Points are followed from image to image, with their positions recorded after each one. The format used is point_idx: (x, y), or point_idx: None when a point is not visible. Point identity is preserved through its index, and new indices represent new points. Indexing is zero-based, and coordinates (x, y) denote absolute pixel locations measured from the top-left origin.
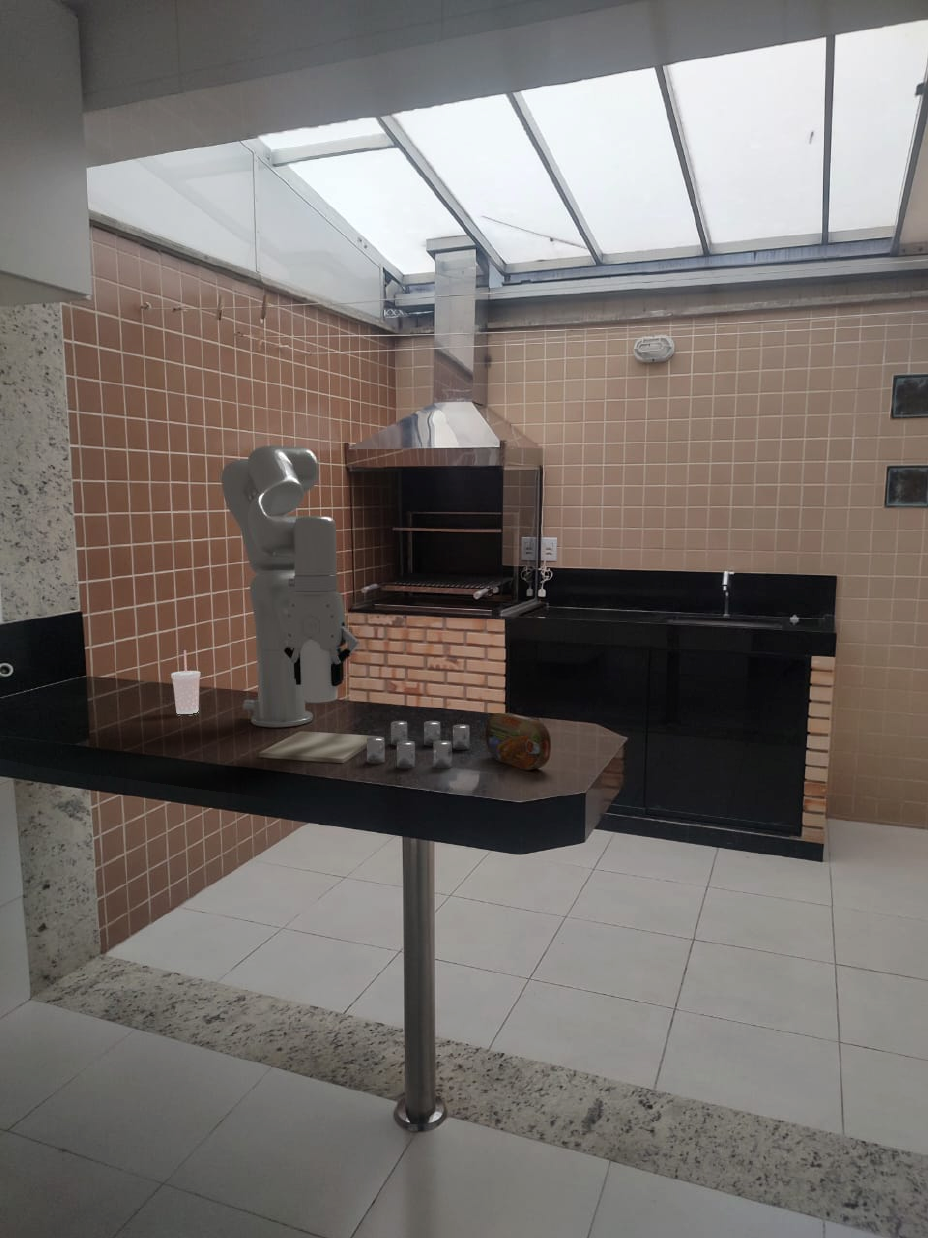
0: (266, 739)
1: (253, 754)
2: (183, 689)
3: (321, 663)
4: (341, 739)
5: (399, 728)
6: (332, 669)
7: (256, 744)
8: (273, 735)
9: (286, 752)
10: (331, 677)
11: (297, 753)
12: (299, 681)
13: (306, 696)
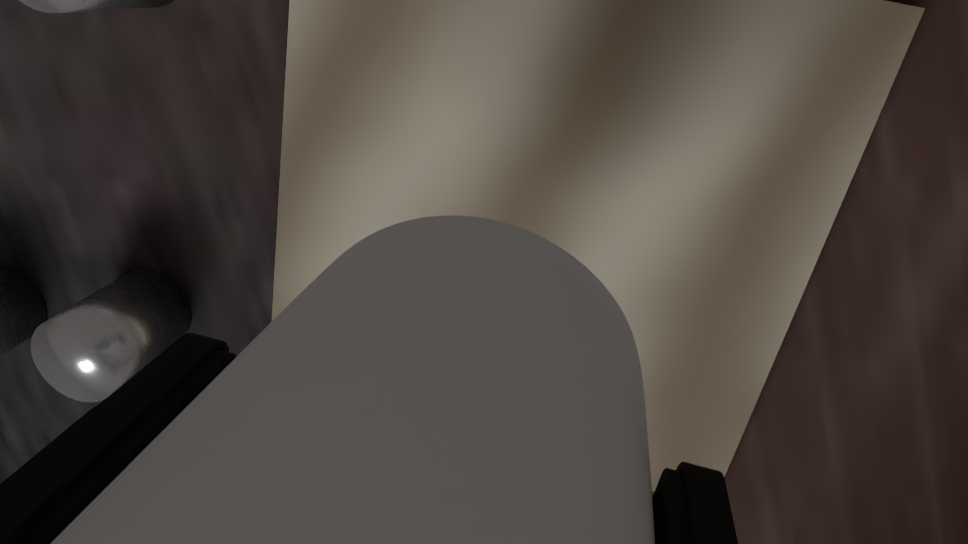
0: (907, 429)
1: (964, 86)
2: None
3: (119, 506)
4: None
5: (70, 309)
6: (63, 465)
7: (965, 326)
8: (872, 504)
9: (713, 27)
10: (175, 405)
11: (630, 3)
12: (671, 486)
13: (555, 263)
